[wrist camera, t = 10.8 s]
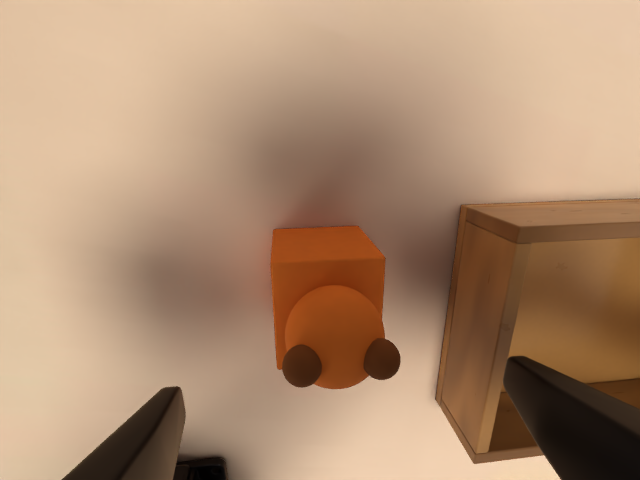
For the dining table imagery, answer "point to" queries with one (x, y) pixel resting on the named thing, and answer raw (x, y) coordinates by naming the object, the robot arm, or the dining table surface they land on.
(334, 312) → the toy bear
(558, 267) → the wooden box
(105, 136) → the dining table surface
